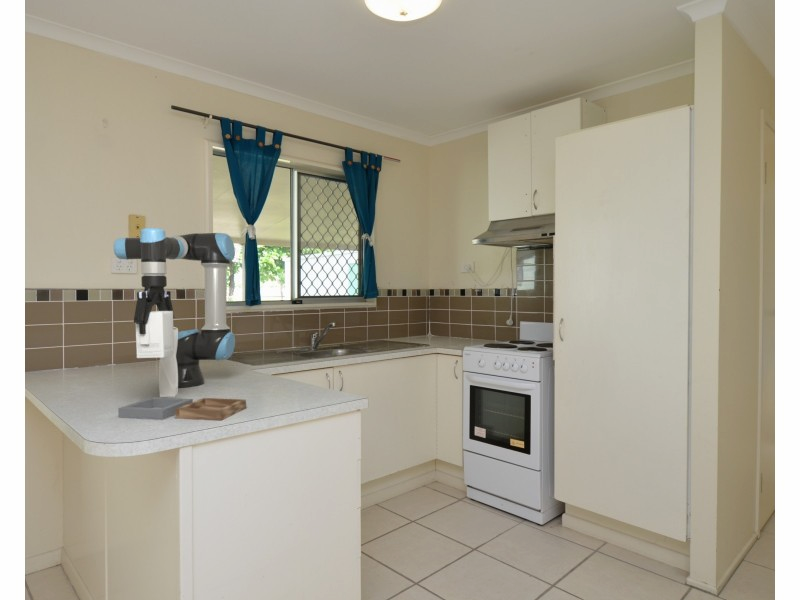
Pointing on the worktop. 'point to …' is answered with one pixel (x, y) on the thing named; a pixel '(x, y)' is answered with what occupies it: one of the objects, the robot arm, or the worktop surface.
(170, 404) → the gray square tray
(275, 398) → the worktop surface
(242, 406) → the tray
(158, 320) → the supplement box
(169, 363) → the skyscraper
